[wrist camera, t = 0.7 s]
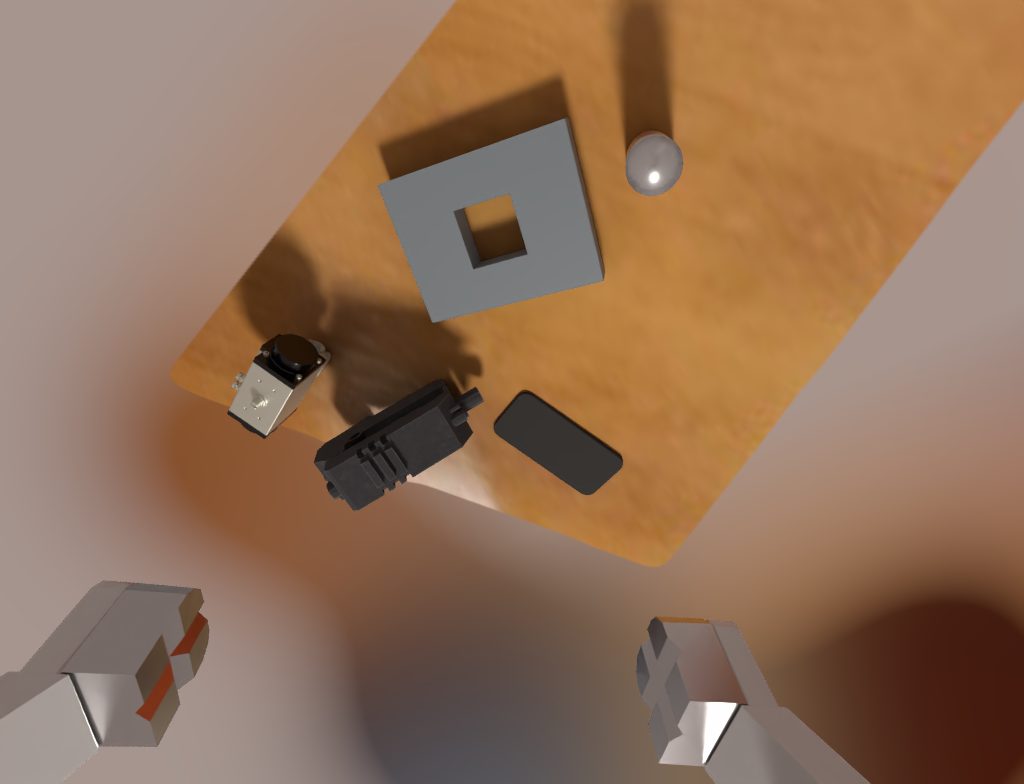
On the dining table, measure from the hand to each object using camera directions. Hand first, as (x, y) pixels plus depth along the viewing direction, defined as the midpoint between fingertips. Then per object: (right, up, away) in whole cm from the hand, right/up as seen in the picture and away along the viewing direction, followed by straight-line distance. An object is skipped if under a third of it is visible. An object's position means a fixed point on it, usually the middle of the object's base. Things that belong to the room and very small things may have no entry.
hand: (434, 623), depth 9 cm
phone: (+7, -2, +52) cm, 53 cm away
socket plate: (0, +20, +41) cm, 46 cm away
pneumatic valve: (-23, +9, +53) cm, 58 cm away
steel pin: (+13, +25, +35) cm, 45 cm away
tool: (-10, +2, +54) cm, 55 cm away
